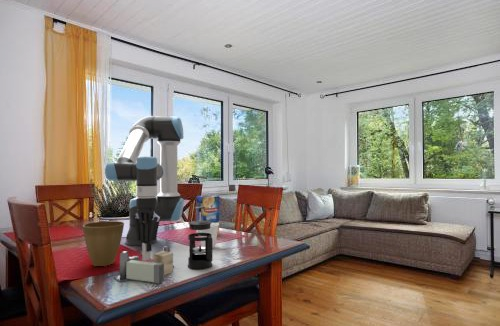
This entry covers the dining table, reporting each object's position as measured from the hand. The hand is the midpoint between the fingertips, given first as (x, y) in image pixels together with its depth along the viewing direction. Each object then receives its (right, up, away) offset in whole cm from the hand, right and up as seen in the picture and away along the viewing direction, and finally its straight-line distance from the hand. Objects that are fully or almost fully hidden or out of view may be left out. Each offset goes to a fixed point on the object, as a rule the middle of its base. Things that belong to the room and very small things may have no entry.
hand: (146, 259), depth 118 cm
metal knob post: (-3, -3, -9) cm, 10 cm away
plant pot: (-19, -4, +6) cm, 20 cm away
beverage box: (+15, -4, +58) cm, 61 cm away
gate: (+4, -3, -13) cm, 14 cm away
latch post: (+7, -4, +2) cm, 8 cm away
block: (+7, -4, -4) cm, 9 cm away
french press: (+20, -4, +3) cm, 21 cm away
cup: (+19, -4, +31) cm, 37 cm away
